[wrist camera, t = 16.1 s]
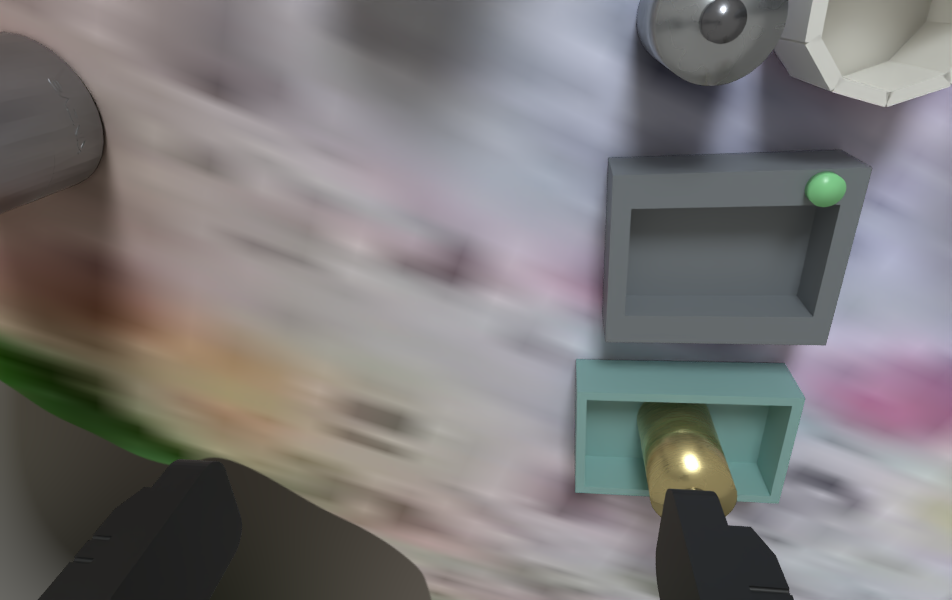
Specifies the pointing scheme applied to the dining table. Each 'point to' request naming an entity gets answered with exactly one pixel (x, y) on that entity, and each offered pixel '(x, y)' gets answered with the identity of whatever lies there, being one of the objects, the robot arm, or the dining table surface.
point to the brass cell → (683, 452)
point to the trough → (713, 383)
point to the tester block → (729, 246)
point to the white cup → (869, 47)
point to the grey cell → (711, 36)
